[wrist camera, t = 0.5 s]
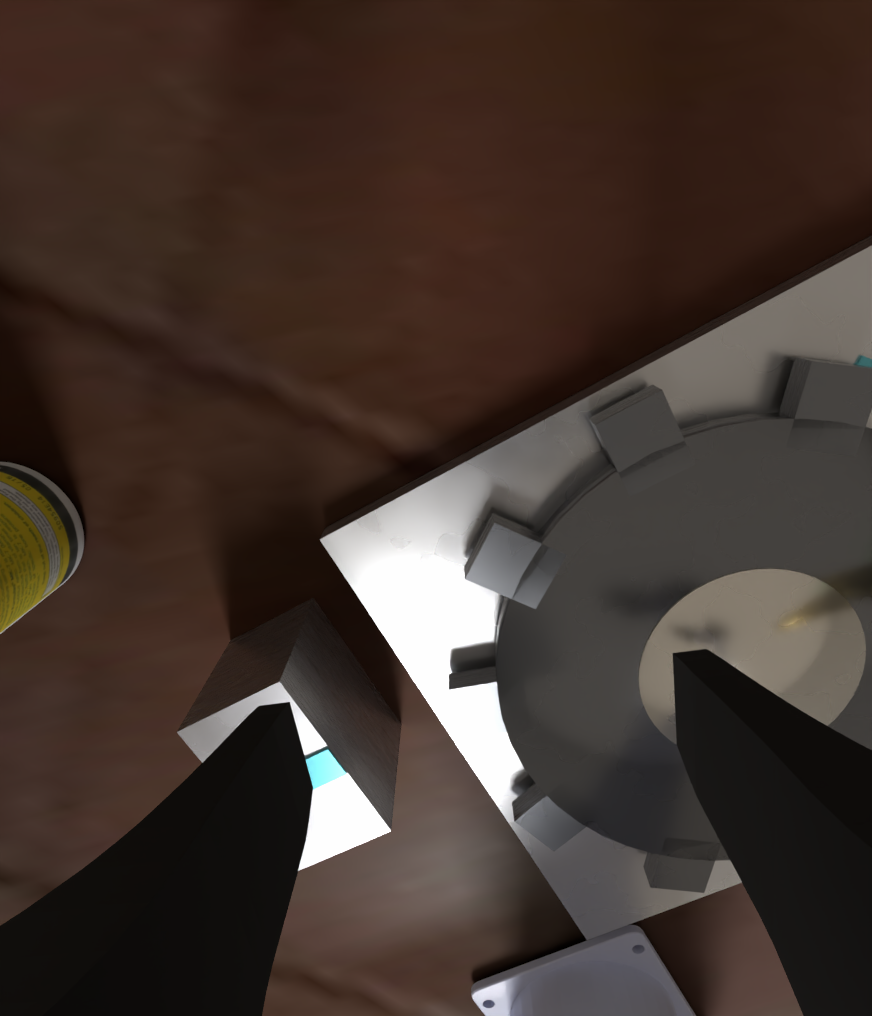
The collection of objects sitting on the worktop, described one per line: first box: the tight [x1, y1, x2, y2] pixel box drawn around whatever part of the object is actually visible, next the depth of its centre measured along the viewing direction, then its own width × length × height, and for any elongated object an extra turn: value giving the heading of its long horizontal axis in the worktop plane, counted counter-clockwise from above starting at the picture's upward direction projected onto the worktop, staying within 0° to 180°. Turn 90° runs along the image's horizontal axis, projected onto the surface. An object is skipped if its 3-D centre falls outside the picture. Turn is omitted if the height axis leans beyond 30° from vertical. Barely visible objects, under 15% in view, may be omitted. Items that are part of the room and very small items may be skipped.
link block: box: [177, 598, 401, 871], centre depth 21 cm, size 6×4×5 cm, turn 29°
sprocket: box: [449, 357, 872, 893], centre depth 19 cm, size 19×19×5 cm
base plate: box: [320, 235, 872, 940], centre depth 22 cm, size 20×20×1 cm
